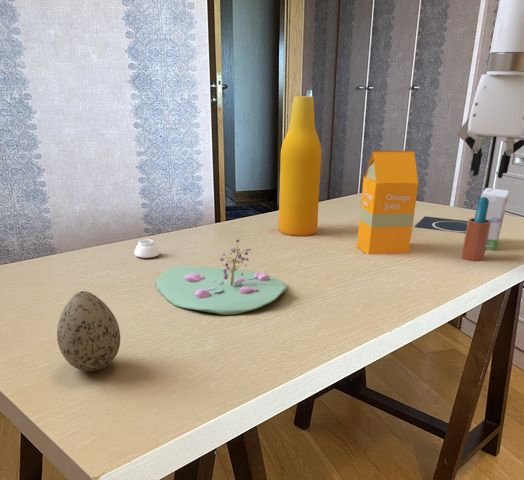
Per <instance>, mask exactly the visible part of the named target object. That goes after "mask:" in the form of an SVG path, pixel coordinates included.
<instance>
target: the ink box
mask: <svg viewBox="0 0 524 480" xmlns="http://www.w3.org/2000/svg"><path fill="white" fill-rule="evenodd" d="M509 193H510V190H506V189H498V188H491V187H485V189H484V190H483V191H482V194H481V196H480V198H482V197H486V198H488V200H489V205H488V210H487V215H486V219H487V220H490V221H491V226H490V230H489V235H488V240H487V245H486V249H485V251H494V252H495V251H496V248H497V246H498V242H499V238H500V235H501V230H502V226H503V221H504V217H505V212H506V208H507V202H508V198H509Z"/></svg>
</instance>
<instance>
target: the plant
mask: <svg viewBox="0 0 524 480" xmlns="http://www.w3.org/2000/svg"><path fill="white" fill-rule="evenodd" d="M239 242H240V239H236V240H235V243H237V244H236V247H234V248H231V249H230V251H231V252H230V253H229V254H230V255H229V257H227V255H226V254H225V253H222V256H225V257H224V258H223V257H219V260H220V261H221V263H222V265H223V267H211V266H185V265H184V266H182V265H181V266H180V265H178V266H171V267H169V268H168V269H167V270H165V271H164V272H162V273H161V275H160V276H158V278H157V279H156V282H155V286H156V289H157V290H158V291H159V293H160V294H162V296H164V298H166V300H167V301H168V302H169V303H170V304H172V305H173V306H174V307H178V308H183V309H187V310H194V311H198V312H199V311H200V312H205V313H212V314H217V315H218V314H219V315H223V316H225V315H226V316H227V315H237V314H242V313H246V312H250V311H254V310H258V309H259V308H262V307H264V306H266V305H269V304H270V303H272V302H274V301H275V300H276V299H278V298H279V297H280V296H281V295H282V294H284V292H286V290H288V286H287V284H286V282H284V281H283V280H282V279H280V278H277V277H275V276H272V275H270V274H268V273H265V272H256V271H252V270H251V271H250V270H242V269H239V267H241V266H242V265H244V266H245V267H247V264H244V261H247V262H249V258H248V257H246V258H245V257H244V256H242V254H244V255H245V256H248V255H249V252H250V251H251V250H252V249H251V248H248V249H247V248H246V249H243V250H242V252H240V251H241V249H240V248H239ZM233 254H235V255H234V257H233V258H232V257H231V256H232V255H233ZM225 259H229V260H227V261H226V263H223V261H224V260H225ZM229 263H231V266H229ZM240 263H241V264H240ZM237 264H240V265H238V266H237Z"/></svg>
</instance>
